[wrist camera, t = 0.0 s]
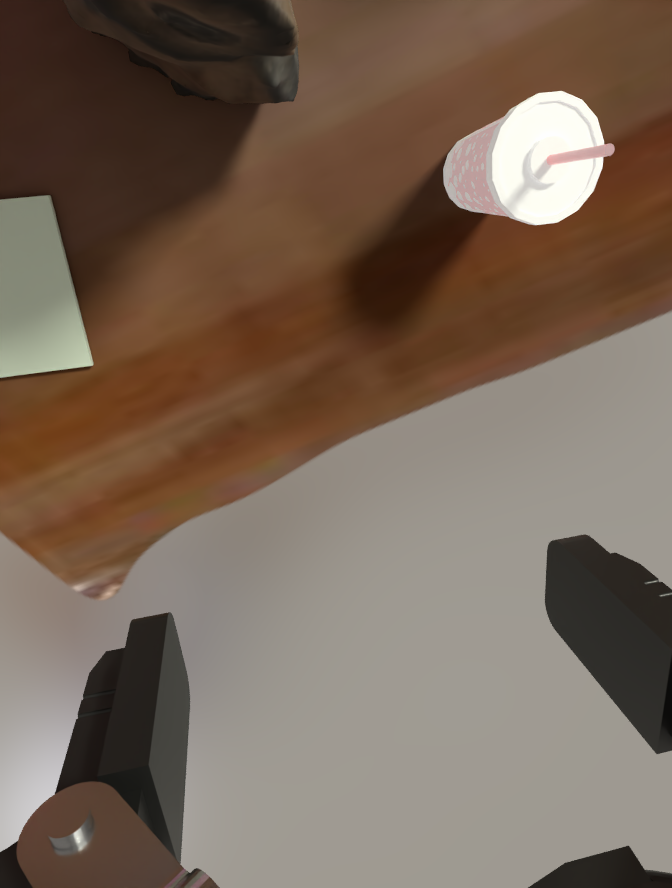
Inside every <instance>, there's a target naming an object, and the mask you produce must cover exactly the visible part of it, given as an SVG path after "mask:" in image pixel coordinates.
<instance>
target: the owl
mask: <svg viewBox="0 0 672 888" xmlns="http://www.w3.org/2000/svg"><path fill="white" fill-rule="evenodd" d="M63 2H64V3H65V4H66V6H67V9H68V12H69V14H70V17H71V18H72V19H73V20H74V22H75V23H76V24H77V25H78V26H80V27H82V28H84V29H87V30H89V31H91V32H92V33H96V34H99V35H101V36H107V37H111V38H114V39H116V40H118V41H120V42H121V43H123V44H124V45H125V46H127V47H128V50H129V57H130V61H131V62H133V63H135V64H137V65H139V66H144V67H151V68H154V69H156V70H157V71H159V72H160V73H162V74H163V75H164V76H166V77H170V78H172V81H171V84H172V86H173V88H174V90H175V92H176V94H178V95H182V96H188V95H195V96H198V97H201V98H204V99H205V100H215V99H217V98H219V99H221V100H222V101H224V102H227V103H229V104H241V103H262V104H264V103H279V102H286V101H294V98H295V96H296V94H297V89H298V74H299V61H298V48H297V44H298V42H299V35H298V27H297V23H296V20H295V17H294V12H293V9H292V5H291V0H63Z"/></svg>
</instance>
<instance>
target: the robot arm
mask: <svg viewBox="0 0 672 888" xmlns="http://www.w3.org/2000/svg"><path fill="white" fill-rule="evenodd" d="M545 605H546V610H547V614H548V617H549V620H550V622H551V624H552V626H553V627H554V629H555V630H556V631H557V633H558V634H559V635H560V636H561V638H562V639H563V640H564V641H565V642H566V644H567V645H568V646H569V647H570V649H571V650H572V651H573V652H574V653H575V655H576V656H577V657H578V658H579V660H580V661H581V662H582V663H583V665H584V666H585V667H586V668H587V669H588V670H589V672H590V673H591V674H592V676H593V677H594V678H595V679H596V681H597V682H598V683H599V684H600V685H601V687H602V688H603V689H604V690H605V691H606V693H607V694H608V695H609V696H610V698H611V699H612V700H613V701H614V703H615V704H616V705H617V706H618V707H619V709H620V710H621V711H622V712H623V714H624V715H625V716H626V717H627V718H628V720H629V721H630V722H631V723H632V725H633V726H634V727H635V728H636V729H637V731H638V732H639V733H640V734H641V735H642V737H643V738H644V739H645V740H646V742H647V743H648V744H649V745H650V746H651V748H652V749H653V750H654V751H655V753H656V754H659V753H663V752H667V751H671V750H672V590H671V589H670V588H669V587H668V586H666V585H665V584H664V583H663V582H659V580H658V578H656V577H655V576H654V575H653V574H652V573H650V572H649V571H648V570H647V569H646V568H644V567H643V566H642V565H641V564H639V563H637V562H635V561H633V560H630V559H628V558H626V557H624V556H622V555H620V554H617V553H611V554H610V553H609V552H608V551H606V550H605V549H604V548H603V547H602V546H601V545H599V544H598V543H597V542H596V541H595V540H594V539H592V538H591V537H590V536H588V535H579V536H575V537H569V538H564V539H558V540H554V541H551V542H550V543H549V545H548V550H547V569H546V589H545ZM189 693H190V692H189V682H188V676H187V671H186V667H185V663H184V659H183V655H182V651H181V647H180V642H179V638H178V634H177V630H176V626H175V622H174V618H173V616H172V614H171V613H164V614H159V615H154V616H149V617H144V618H138V619H133V620H132V621H131V623H130V628H129V632H128V637H127V641H126V646H125V648H121V649H116V650H111V651H106V652H105V654H104V655H103V656H102V658H101V659H100V660H99V661H98V663H97V664H96V666H95V667H94V668H93V669H92V670H91V672H90V673H89V676H88V680H87V683H86V687H85V691H84V694H83V700H82V701H81V704H80V708H79V711H78V719H76V722H75V726H74V729H73V733H72V736H71V740H70V743H69V747H68V751H67V754H66V757H65V761H64V764H63V768H62V771H61V775H60V778H59V782H58V785H57V789H56V792H55V795H53V796H52V797H50V798H49V799H48V800H47V801H45V802H44V803H43V804H42V805H41V806H40V807H39V808H38V809H37V810H36V811H35V812H34V813H33V814H32V816H31V817H30V818H29V819H28V821H27V823H26V824H25V826H24V827H23V830H22V832H21V834H20V836H19V840H18V841H17V842H16V843H14V844H13V845H11V846H10V847H8V848H7V849H5V850H3V851H2V852H0V888H219V887H218V886H217V884H216V883H215V882H214V881H213V880H212V879H211V878H210V877H209V876H208V875H207V874H206V873H205V872H203V871H202V870H200V869H197V868H196V869H194V870H193V871H192V872H191V873H189V872H188V871H186V870H185V869H184V868H183V867H182V866H181V865H180V863H181V862H180V861H181V846H182V830H183V812H184V796H185V779H186V762H187V746H188V729H189V712H190V694H189ZM528 888H672V874H671V873H665V872H659V871H653V870H644V868H643V867H642V866H641V864H640V862H639V861H638V859H637V858H636V856H635V854H634V853H633V851H632V850H631V848H630V847H629V846H626V847H622V848H619V849H615V850H612V851H608V852H604V853H601V854H597V855H593V856H589V857H586V858H582V859H578V860H574V861H571V862H567V863H564V864H563V865H561V866H560V867H558V868H557V869H556V870H554V871H553V872H551V873H550V874H548V875H546V876H545V877H544V878H542V879H540V880H539V881H538V882H536V883H534V884H533V885H532V886H530V887H528Z"/></svg>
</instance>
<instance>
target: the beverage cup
mask: <svg viewBox="0 0 672 888" xmlns="http://www.w3.org/2000/svg"><path fill="white" fill-rule="evenodd" d="M613 152H614V145H613V144H605V145H604V139H603V136H602V133H601V129H600V126H599V123H598V119H597V117H596V116H595V115H594V113H593V112H592V111H591V110H590V109H589V107H588V106H587V105H586V104H585V102H584V101H583V100H582V99H579V98H577V97H575V96H572V95H570V94H567V93H565V92H563V91H557V92H547V93H538V94H536V95H534V96H532V97H530V98H528V99H527V100H525V101H523V102H522V103H520V104H518V105H517V106H515V107H513V108H512V109H510V110H509V112H508V113H507V114H506V116H504V117H503V118H501V119H499V120H497V121H495V122H493V123H491V124H489V125H487V126H485V127H483V128H481V129H479V130H477V131H475V132H473V133H472V134H470V135H468V136H466V137H465V138H463V139H461V140H460V141H458V142H457V143H456V144H455V145H454V147H453V148H452V149H451V151H450V152H449V153H448V155H447V159H446V162H445V165H444V168H443V176H444V186H445V189H446V191H447V193H448V196H449V198H450V199H451V200H452V201H453V202H454V203H455V204H456V205H457V206H458V207H460V208H463V209H466V210H469V211H473V212H480V213H487V214H494V215H501V216H509V217H510V218H512V219H515V220H518V221H521V222H524V223H527V224H532V225H541V224H548V223H556V222H559V221H561V220H562V219H564V218H566V217H567V216H569V215H571V214H572V213H574V212H576V211H577V210H578V209H579V208H580V207H581V206H582V204H583V203H584V202H585V201H586V199H587V198H588V197H589V196H590V195H591V193H592V192H593V190H594V188H595V185H596V183H597V180H598V178H599V175H600V172H601V170H602V167H603V157H605V156H610V155H612V154H613Z"/></svg>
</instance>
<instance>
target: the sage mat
mask: <svg viewBox="0 0 672 888" xmlns="http://www.w3.org/2000/svg"><path fill="white" fill-rule="evenodd" d="M92 365H93V360H92V356H91V352H90V348H89V344H88V340H87V336H86V332H85V328H84V324H83V321H82V317H81V313H80V309H79V305H78V301H77V297H76V293H75V289H74V285H73V281H72V277H71V273H70V269H69V265H68V262H67V258H66V254H65V250H64V246H63V242H62V238H61V234H60V230H59V226H58V222H57V218H56V214H55V210H54V206H53V203H52V199H51V195H46V196H35V197H24V198H13V199H3V200H0V378H2V377H10V376H17V375H25V374H33V373H40V372H48V371H55V370H63V369H70V368H78V367H86V366H92Z"/></svg>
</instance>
